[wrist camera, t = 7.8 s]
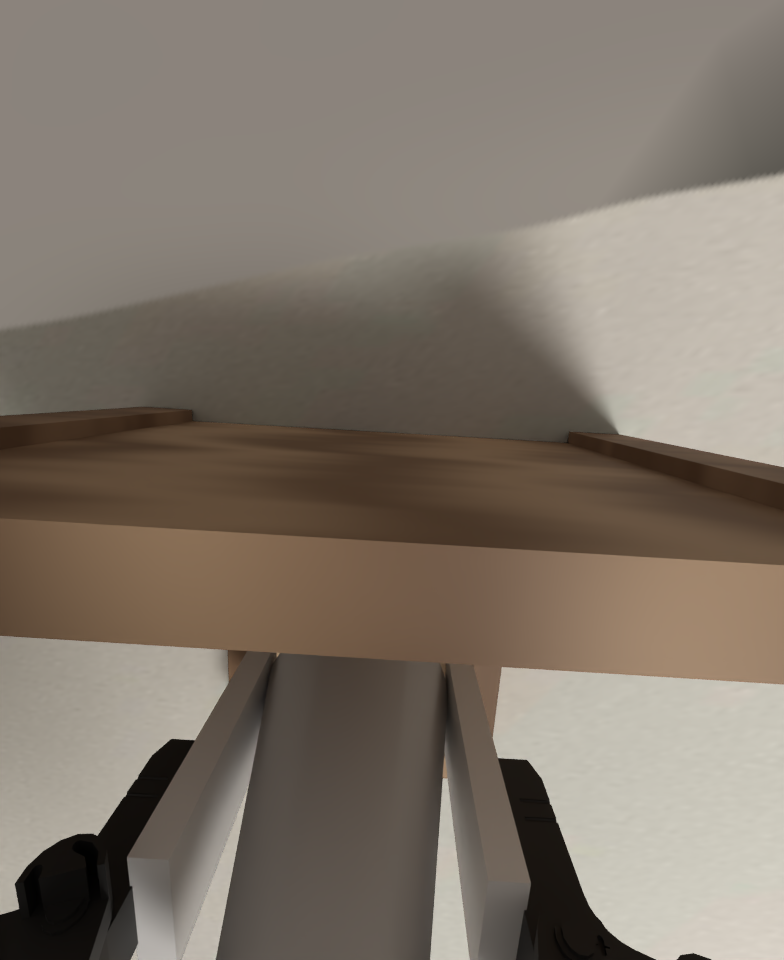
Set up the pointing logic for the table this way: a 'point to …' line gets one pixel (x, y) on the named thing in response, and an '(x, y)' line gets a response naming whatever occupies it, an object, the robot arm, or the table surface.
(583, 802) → the table surface
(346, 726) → the salt shaker
